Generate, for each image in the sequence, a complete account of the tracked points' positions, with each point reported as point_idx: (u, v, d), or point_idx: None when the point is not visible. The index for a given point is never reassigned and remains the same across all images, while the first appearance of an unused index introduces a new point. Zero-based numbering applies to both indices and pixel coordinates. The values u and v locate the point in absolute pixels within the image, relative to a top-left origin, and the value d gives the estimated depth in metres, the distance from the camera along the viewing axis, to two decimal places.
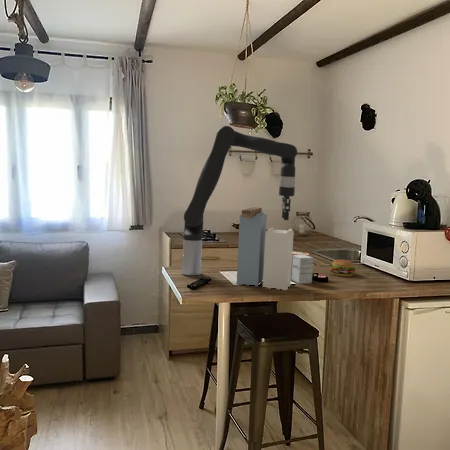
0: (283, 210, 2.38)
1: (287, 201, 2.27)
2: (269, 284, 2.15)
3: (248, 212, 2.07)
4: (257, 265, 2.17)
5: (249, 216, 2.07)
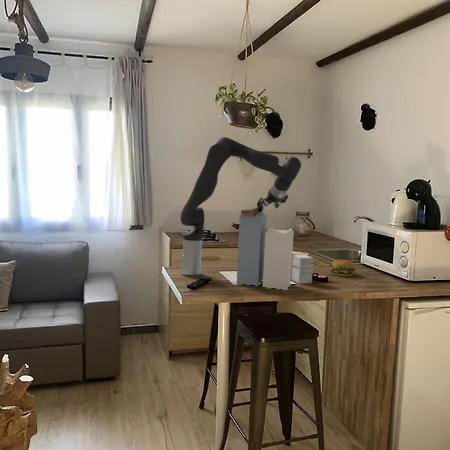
0: None
1: None
2: (269, 284, 2.15)
3: (248, 211, 2.06)
4: (257, 265, 2.17)
5: (249, 215, 2.07)
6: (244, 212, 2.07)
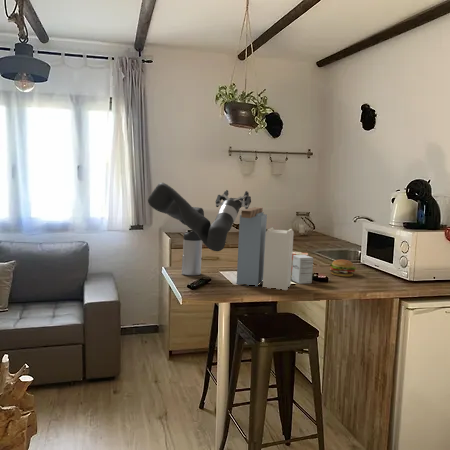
0: None
1: (248, 205, 1.96)
2: (269, 284, 2.15)
3: (248, 212, 2.06)
4: (257, 265, 2.17)
5: (249, 216, 2.06)
6: (244, 212, 2.06)
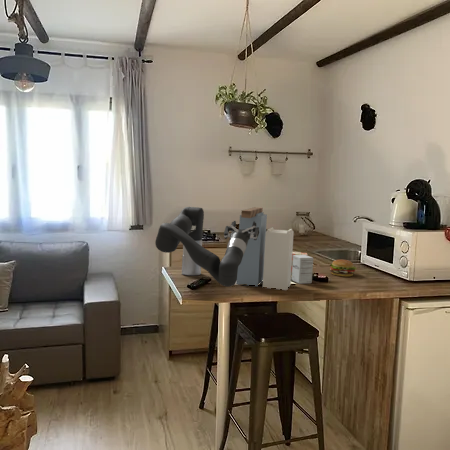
0: None
1: (256, 236, 1.96)
2: (269, 284, 2.15)
3: (248, 212, 2.06)
4: (257, 265, 2.17)
5: (249, 216, 2.06)
6: (244, 212, 2.06)
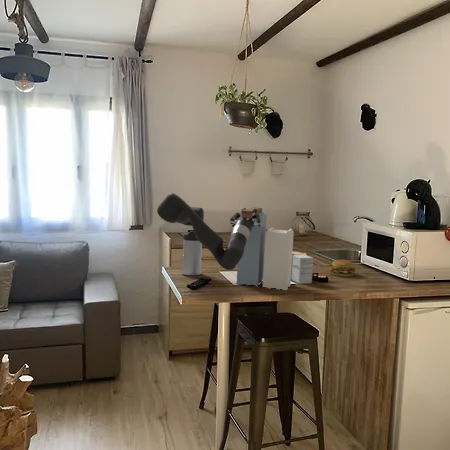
0: None
1: None
2: (269, 284, 2.15)
3: (248, 212, 2.06)
4: (257, 265, 2.17)
5: (249, 216, 2.06)
6: (244, 212, 2.06)
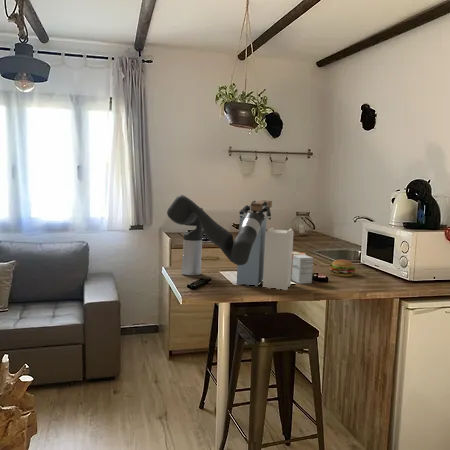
0: None
1: (270, 215, 1.97)
2: (269, 284, 2.15)
3: (258, 205, 1.98)
4: (257, 265, 2.17)
5: (259, 209, 1.98)
6: (254, 205, 1.98)
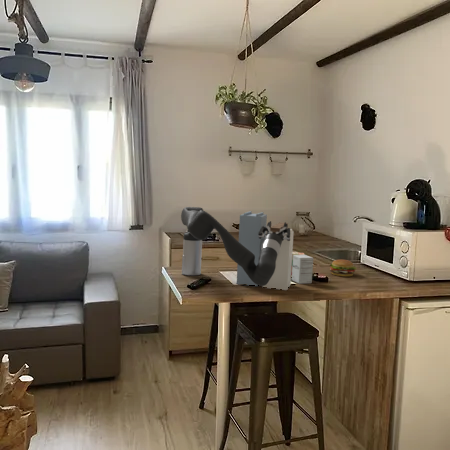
0: None
1: None
2: (269, 284, 2.15)
3: (277, 229, 2.03)
4: None
5: None
6: (273, 230, 2.04)
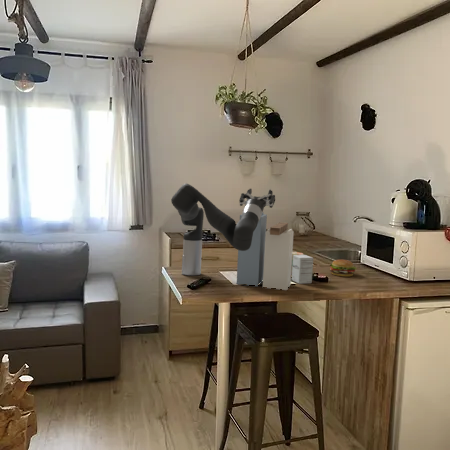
0: None
1: (272, 204, 1.94)
2: (269, 284, 2.15)
3: (277, 229, 2.03)
4: (257, 265, 2.17)
5: (278, 233, 2.03)
6: (273, 230, 2.04)
